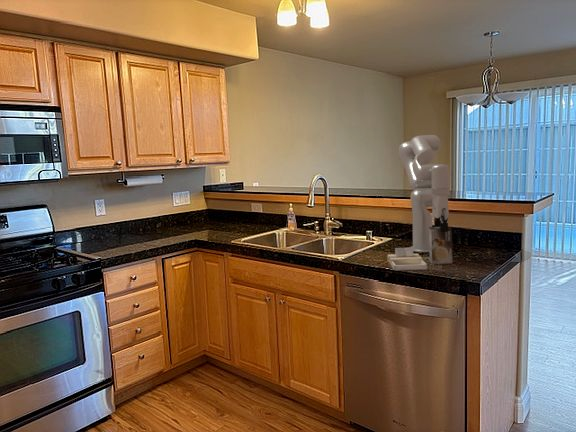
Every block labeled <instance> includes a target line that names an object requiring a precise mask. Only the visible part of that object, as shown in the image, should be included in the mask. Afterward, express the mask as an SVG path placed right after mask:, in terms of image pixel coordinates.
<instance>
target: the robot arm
mask: <svg viewBox="0 0 576 432" xmlns="http://www.w3.org/2000/svg"><path fill="white" fill-rule="evenodd" d="M441 146H442V142H441V139H440V137H439V136H437V135H435V134H427V135H426V134H425V135H416V136H414V137H412V138H411V140H409V141H408V140H407V141H404V142H402V143H401V144H399V147H398V155H399V156H398V157H399V159H400V162H401V164H402V166H403V167H404V169H405V172H406V175H407V179H408V183H409V186H410V188H411V190H412V191H411V193H410V204H411V212H412V213H411V214H412V245H411V246H410V247H412V248H413V253H415V252H416V253H429V227H440V232H448V227H449V213H450V212H449V196H451V194H450V166H449V164H443V163H436V164H435V163H434V164H429V163H430V162H432V161H433V160H434V158H435V154H436V153H438V152H439V150H440V149H441ZM428 208H432V209H431V212H430V210H428ZM433 219H434V220H433ZM433 223H434V226H433Z"/></svg>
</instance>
